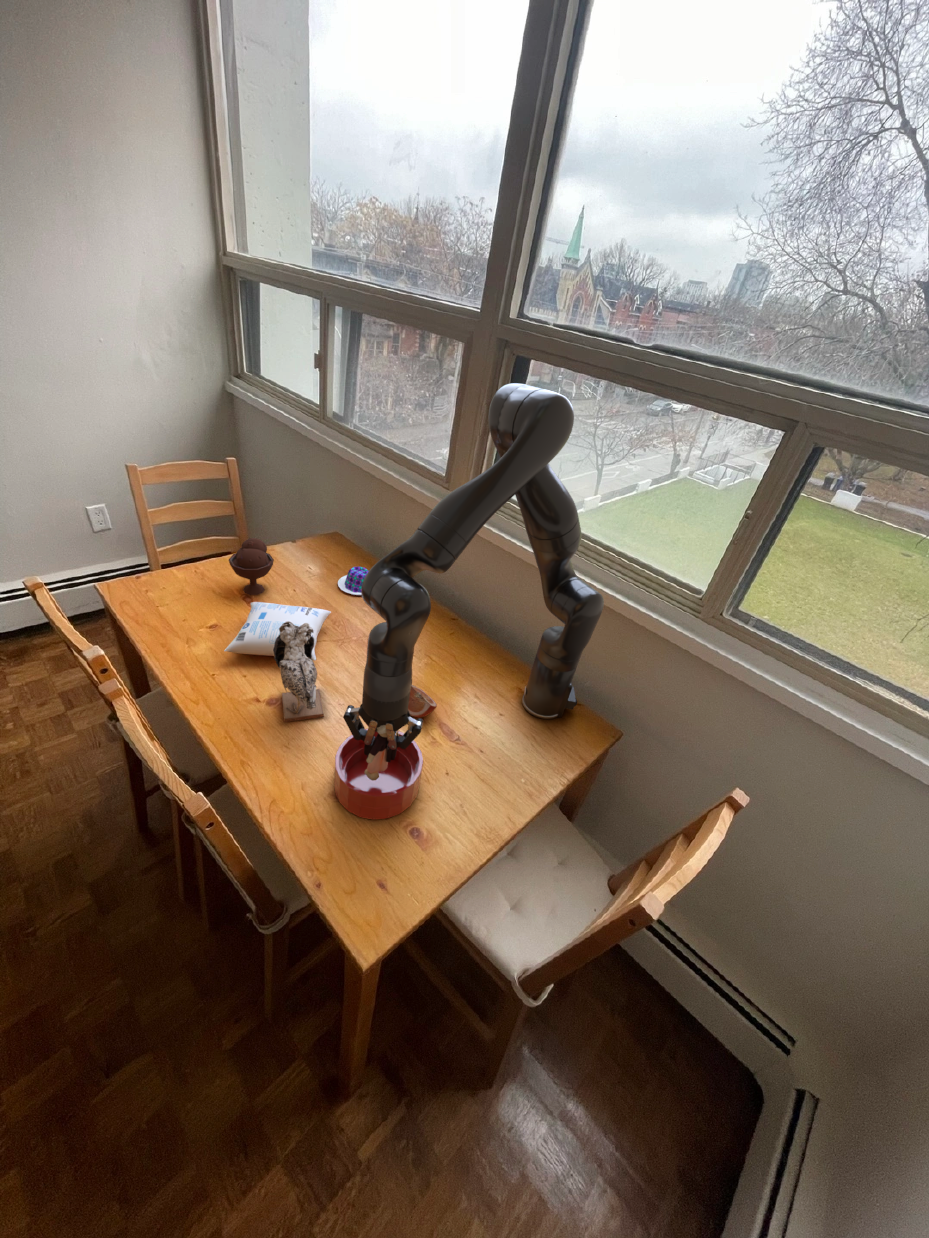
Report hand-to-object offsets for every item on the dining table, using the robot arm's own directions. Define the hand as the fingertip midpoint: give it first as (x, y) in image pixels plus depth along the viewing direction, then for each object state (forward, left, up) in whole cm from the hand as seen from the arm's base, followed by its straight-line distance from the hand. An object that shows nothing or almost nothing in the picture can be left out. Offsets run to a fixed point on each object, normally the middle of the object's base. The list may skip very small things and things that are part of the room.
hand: (380, 756), depth 90 cm
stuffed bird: (+20, -16, -8) cm, 27 cm away
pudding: (+22, -67, -8) cm, 71 cm away
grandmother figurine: (0, 0, -3) cm, 3 cm away
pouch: (+32, -35, -8) cm, 48 cm away
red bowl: (0, 0, -8) cm, 8 cm away
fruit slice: (-4, -21, -8) cm, 23 cm away
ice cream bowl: (+48, -55, -8) cm, 73 cm away
